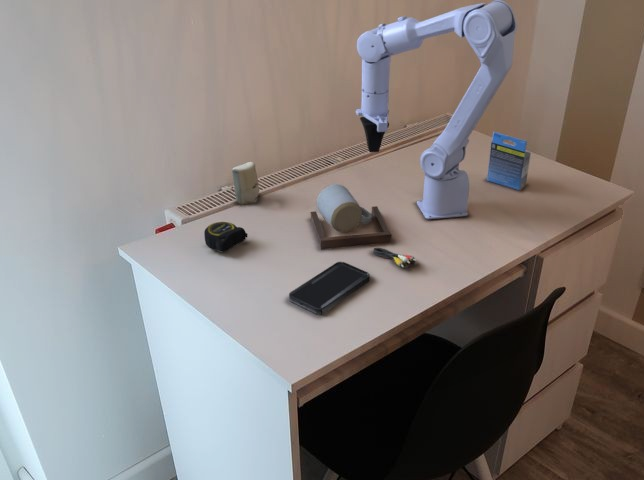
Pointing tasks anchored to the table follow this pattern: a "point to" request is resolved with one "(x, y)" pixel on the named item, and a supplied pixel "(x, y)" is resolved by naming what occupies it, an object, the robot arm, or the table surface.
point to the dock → (353, 240)
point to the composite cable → (396, 257)
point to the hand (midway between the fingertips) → (373, 151)
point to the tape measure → (223, 236)
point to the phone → (329, 287)
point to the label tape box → (508, 162)
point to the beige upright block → (246, 183)
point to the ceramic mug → (341, 208)
